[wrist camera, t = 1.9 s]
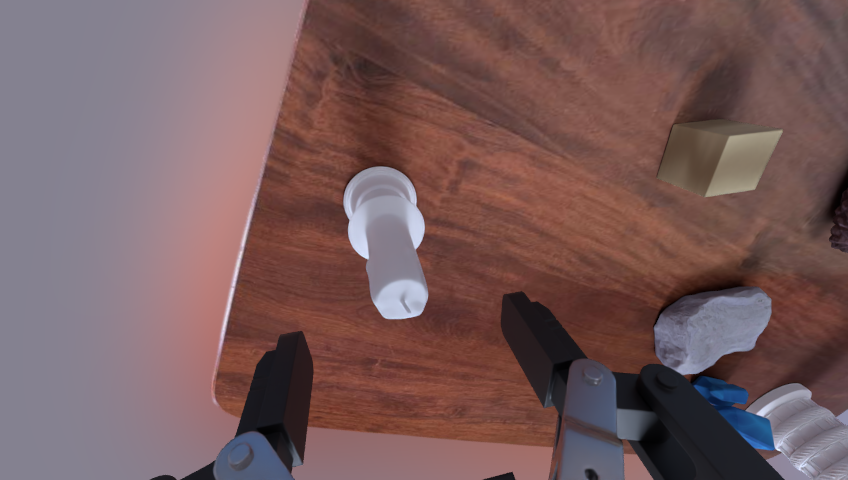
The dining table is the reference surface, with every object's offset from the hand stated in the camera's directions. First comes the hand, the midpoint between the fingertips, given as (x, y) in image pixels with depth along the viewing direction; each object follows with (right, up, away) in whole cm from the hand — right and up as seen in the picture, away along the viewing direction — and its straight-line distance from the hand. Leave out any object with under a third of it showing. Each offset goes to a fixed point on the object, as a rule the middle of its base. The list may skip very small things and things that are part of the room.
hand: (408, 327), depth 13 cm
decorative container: (+62, -26, +44) cm, 80 cm away
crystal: (+43, -18, +36) cm, 58 cm away
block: (+23, +11, +14) cm, 29 cm away
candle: (-3, +6, +11) cm, 13 cm away
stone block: (+34, -5, +26) cm, 43 cm away
